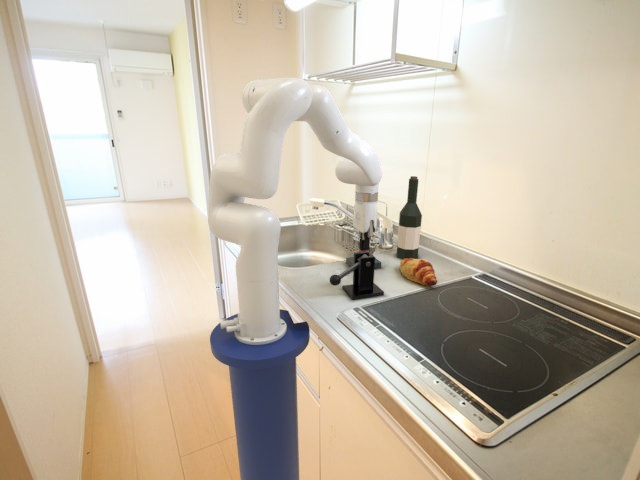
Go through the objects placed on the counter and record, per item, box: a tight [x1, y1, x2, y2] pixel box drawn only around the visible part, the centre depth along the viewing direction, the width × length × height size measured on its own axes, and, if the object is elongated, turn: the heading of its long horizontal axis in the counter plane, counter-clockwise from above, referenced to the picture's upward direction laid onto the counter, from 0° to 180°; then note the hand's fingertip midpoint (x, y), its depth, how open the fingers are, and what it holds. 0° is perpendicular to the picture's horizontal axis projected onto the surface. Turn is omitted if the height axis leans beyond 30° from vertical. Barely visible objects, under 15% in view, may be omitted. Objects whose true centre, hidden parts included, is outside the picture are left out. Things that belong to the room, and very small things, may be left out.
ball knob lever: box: [329, 254, 368, 287], centre depth 103 cm, size 13×3×3 cm, turn 112°
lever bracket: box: [341, 251, 385, 301], centre depth 105 cm, size 10×8×12 cm
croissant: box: [399, 258, 438, 287], centre depth 118 cm, size 21×10×8 cm, turn 21°
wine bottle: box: [396, 175, 423, 261], centre depth 133 cm, size 8×8×30 cm
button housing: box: [345, 252, 382, 270], centre depth 127 cm, size 10×8×4 cm
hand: (364, 249), depth 126 cm, fingers closed
